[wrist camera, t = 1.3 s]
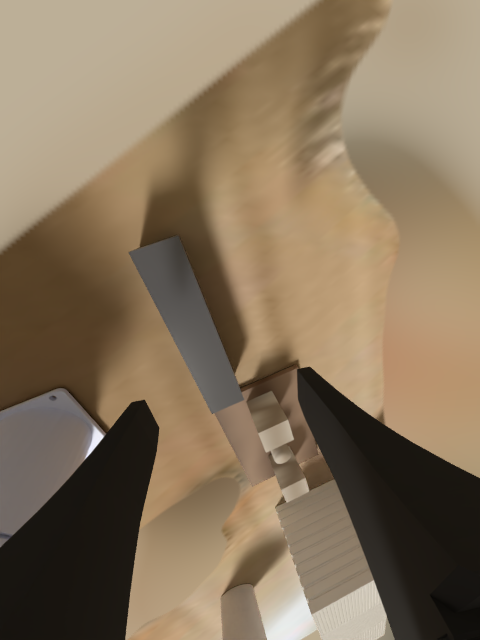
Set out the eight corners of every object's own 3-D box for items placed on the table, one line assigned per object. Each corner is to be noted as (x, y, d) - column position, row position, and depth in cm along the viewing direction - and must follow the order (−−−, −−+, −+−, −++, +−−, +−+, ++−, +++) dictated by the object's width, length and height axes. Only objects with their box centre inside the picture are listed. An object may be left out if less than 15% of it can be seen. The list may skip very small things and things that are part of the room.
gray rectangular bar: (207, 384, 22) (212, 414, 19) (140, 247, 16) (128, 252, 12) (234, 372, 22) (244, 399, 19) (178, 234, 16) (178, 235, 13)
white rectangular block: (344, 554, 49) (384, 634, 39) (302, 577, 48) (332, 665, 38) (334, 476, 35) (392, 570, 25) (274, 505, 34) (311, 615, 24)
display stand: (251, 481, 30) (262, 522, 26) (209, 401, 23) (216, 439, 19) (315, 450, 31) (336, 484, 27) (295, 364, 24) (319, 392, 20)
